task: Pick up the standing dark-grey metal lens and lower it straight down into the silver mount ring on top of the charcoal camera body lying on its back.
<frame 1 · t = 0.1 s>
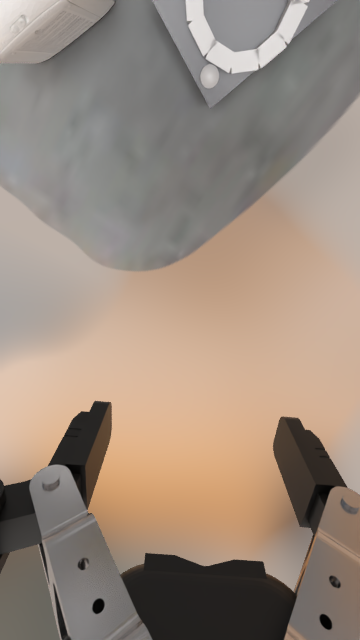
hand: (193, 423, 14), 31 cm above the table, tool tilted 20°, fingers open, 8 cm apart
camera body: (238, 2, 26), on the table
photo printer: (65, 10, 26), on the table
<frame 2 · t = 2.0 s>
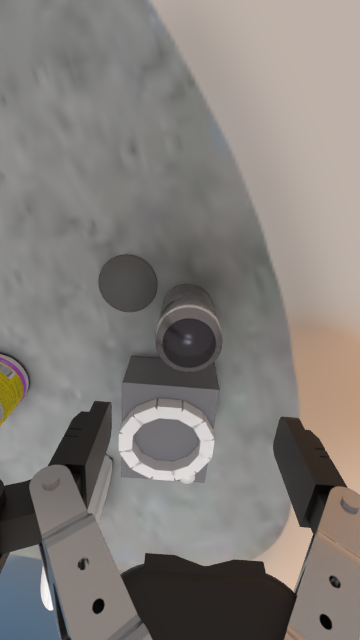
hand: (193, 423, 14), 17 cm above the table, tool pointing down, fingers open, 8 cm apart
camera body: (169, 404, 33), on the table
lens cap: (129, 282, 28), on the table
supplement bottle: (2, 375, 32), on the table
lens: (187, 308, 29), on the table
photo printer: (94, 477, 38), on the table
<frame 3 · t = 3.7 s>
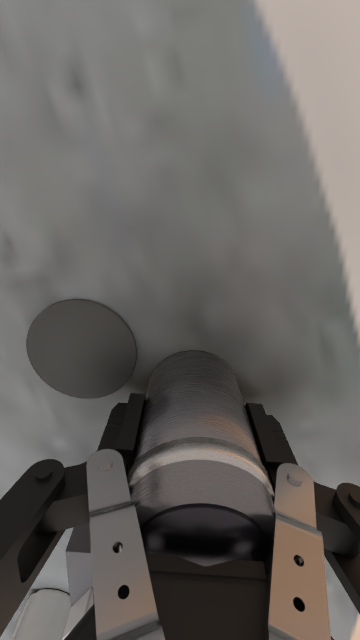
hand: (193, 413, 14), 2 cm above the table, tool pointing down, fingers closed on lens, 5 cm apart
camera body: (161, 530, 20), on the table
lens cap: (86, 346, 16), on the table
lens: (192, 390, 16), on the table, touching gripper
photo printer: (50, 617, 25), on the table
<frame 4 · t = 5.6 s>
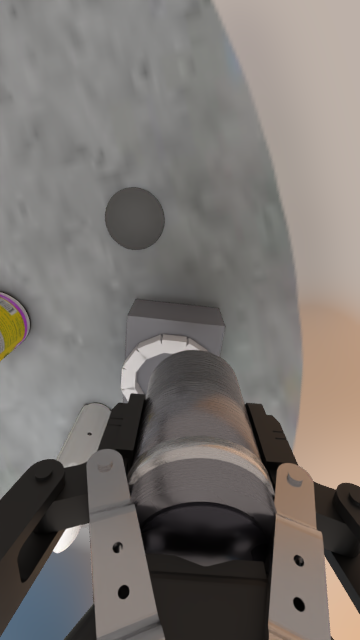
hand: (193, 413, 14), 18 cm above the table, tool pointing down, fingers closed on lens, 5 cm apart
camera body: (171, 352, 33), on the table
lens cap: (135, 219, 28), on the table
supplement bottle: (3, 317, 32), on the table
lens: (193, 389, 16), point 16 cm above the table, touching gripper
photo printer: (93, 431, 38), on the table
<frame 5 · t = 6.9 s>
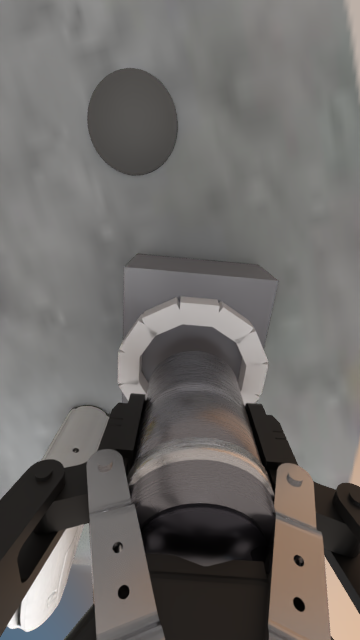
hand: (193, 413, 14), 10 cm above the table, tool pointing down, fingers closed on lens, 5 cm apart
camera body: (190, 333, 23), on the table
lens cap: (134, 127, 19), on the table
lens: (193, 390, 16), point 8 cm above the table, touching gripper
photo printer: (86, 444, 28), on the table
when the fingers open (8 cm above the table, at t = 7.7 s): lens stays where it is, resting on camera body.
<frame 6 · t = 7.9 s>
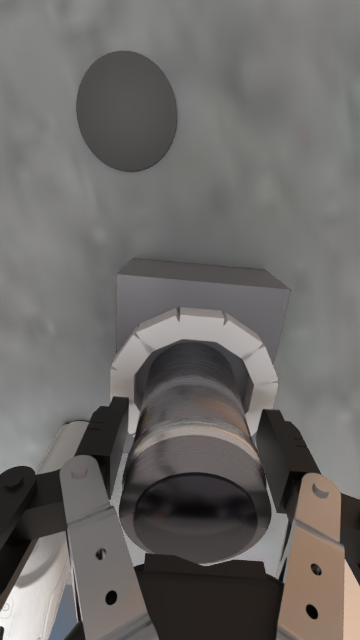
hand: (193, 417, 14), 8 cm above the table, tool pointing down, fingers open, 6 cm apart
camera body: (190, 343, 22), on the table
lens cap: (129, 118, 17), on the table
lens: (190, 380, 17), point 5 cm above the table, touching camera body
photo printer: (79, 460, 26), on the table
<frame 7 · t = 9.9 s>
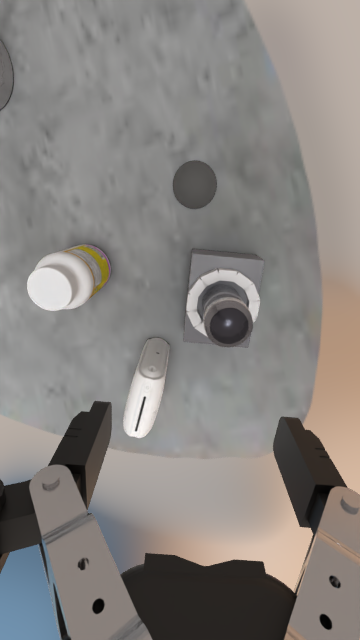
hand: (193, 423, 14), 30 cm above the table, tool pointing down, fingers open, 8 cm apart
camera body: (218, 293, 42), on the table
lens cap: (194, 185, 38), on the table
supplement bottle: (89, 267, 42), on the table
lens: (221, 302, 37), point 5 cm above the table, touching camera body
photo printer: (152, 364, 47), on the table
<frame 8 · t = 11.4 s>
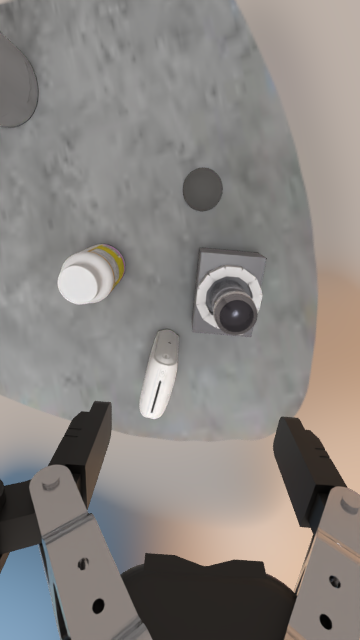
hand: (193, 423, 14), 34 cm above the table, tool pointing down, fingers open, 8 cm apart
camera body: (223, 287, 46), on the table
lens cap: (202, 190, 41), on the table
supplement bottle: (105, 264, 45), on the table
lens: (227, 296, 41), point 5 cm above the table, touching camera body
photo printer: (162, 353, 51), on the table
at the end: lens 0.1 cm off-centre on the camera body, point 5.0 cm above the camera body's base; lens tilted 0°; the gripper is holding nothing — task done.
